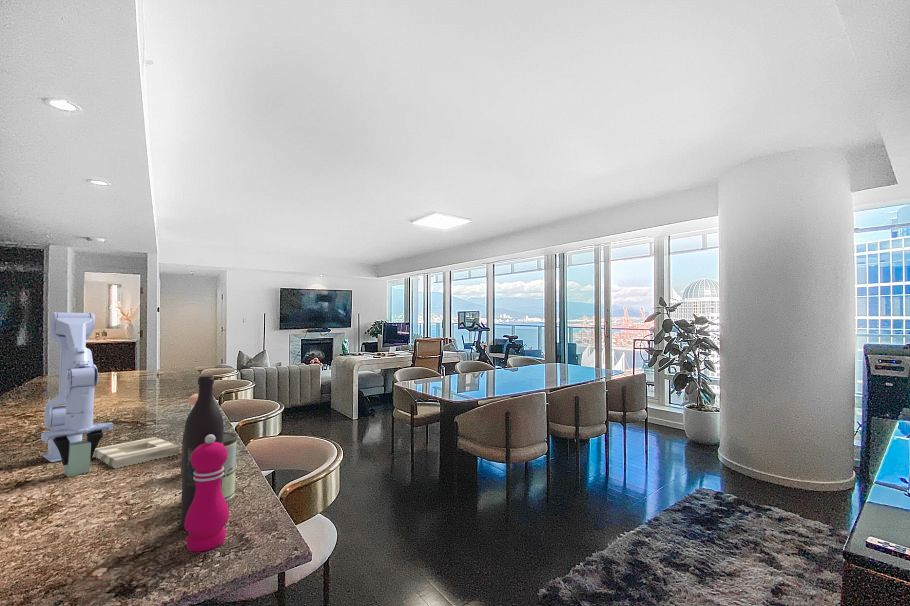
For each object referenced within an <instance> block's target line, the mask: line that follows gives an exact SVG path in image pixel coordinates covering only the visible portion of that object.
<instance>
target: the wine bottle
mask: <svg viewBox="0 0 910 606" xmlns="http://www.w3.org/2000/svg"><path fill="white" fill-rule="evenodd" d="M214 383H215V377H214V375H209V374H207V375H201V376H200V375H199V376H198V378H197V385H198V392H199V394H198V393H197V394H198V399H197V401H196V403H195V405H194V407H193V408H192V410H191V409H190V411H189V414H188V416H187V417H186V420H185V424H184V430H183V431H184V432H183V433H184V447H183V473H182V476H181V478H182V479H181V499H180V500H181V501H180V502H181V503H180V528H181V529H182V530H184V531H186V530H185V527H184V523H185V517H186V514H187V512H188V510H189V508H190V506H191V504H192V501H193V499H194V496H195V491H196V481H195V480H194V479H193V477H194V474H193V473H194V471H195V470H196V469H195V468H194V467H193V466H192V465H191V456H192V453H193V451H194V450H195V449H196V448H197V447H198V446H200V445H202V444H204V443H206V442H205V438H206V436H207V435H210V434H212V435H214V436H215V438H216V439H215V442H218V443H221V444H223V435H224V432H225V429H224V427H225V426H224V419H223V415H222V412H221V409H220V408H219V407H218V405H217V403H216V401H215V398H214V393H213V387H214ZM213 398H214V399H213ZM221 490H222V477H221Z"/></svg>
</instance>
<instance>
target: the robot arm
mask: <svg viewBox="0 0 910 606" xmlns="http://www.w3.org/2000/svg"><path fill="white" fill-rule="evenodd" d="M95 326H96V316H95V314H94V313H93V312H61V311H58V312H57V311H53V312H52V313H50V317H49V337H50V340H52V341H54V342H57V343H58V347H59V369H58V371H59V372H58V373H59V374H58V377H59V378H58V394H57V395H56V396H55V397H53V398H51V399H50V400H48V401H47V403H46V404H45V409H44V410H45V411H44V416H43V417H44V420H43V421H44V428H46V429H49V430H50V431H49V430H48V431H45V432H41V433H40V441H42V442H47V453H46V454H43V455H42V457H43V458H45V459H46V460H47V461H49V462H50V463H54V462H59V461H61V464H62V465H63V466H64V465H68V449H69V443H71V442H77V441H82V440H83V435H86V440H87V441H89V442H91V456H90V461H92V460H93V458H94V451H95V448H97V446H98V445H99V443H100V441H101V439H102V438H103V437H104V431H113V430H114V423H113V422H111V421H110V422H102V423H101V422H100V423H94V409H95V390H96V389H95V388H97V386H98V382H99V371H98V367H97V366H96V364H94V359H93V352H92V350H91V349H90V348H88V347H87V346H86V345H87V340H90V337H91V336H92V334H93V331H94V329H95Z"/></svg>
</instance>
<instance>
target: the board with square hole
mask: <svg viewBox="0 0 910 606" xmlns="http://www.w3.org/2000/svg"><path fill="white" fill-rule="evenodd" d="M177 454H178V455H179V454H180V445H178V444H175V443H172V442H169V441H167V440H164V439H161V438H159V437H157V436H152V437H148V438H142V439H138V440H133V441H127V442H123V443H117V444H111V445H107V446H102V447H96V448H95V451H94V454H93V458H95V457H96V458H95V459H97V458H98V459H100V460H101V462H102V461H103V462H102V463H104V462H105V463H106V465H107V464H108V465H107V466H109V465H110V466H109V467H111V468H112V467H113V469H114V468H115V469H114V470H116V468H117V469H121V468H120V467H122V468H125V467H124V466H126V467H129V465H130V466H134V465H133V464H135V465H137V464H138V463H139V464H142V462H143V463H147V462H146V461H148V462H151V461H150V460H152V461H155V460H154V459H157V460H160V459H159V458H161V459H165V458H169V457H168V456H170V457H174V456H177ZM173 455H174V456H173ZM164 457H165V458H164ZM98 459H97V460H98ZM100 460H99V461H100ZM105 463H104V464H105Z"/></svg>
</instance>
